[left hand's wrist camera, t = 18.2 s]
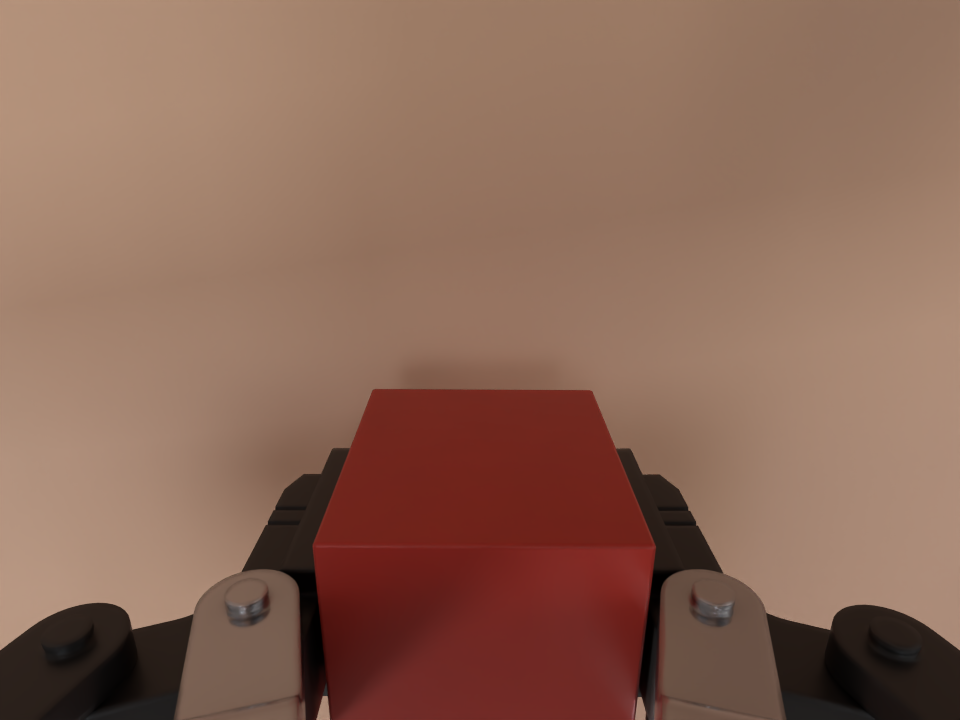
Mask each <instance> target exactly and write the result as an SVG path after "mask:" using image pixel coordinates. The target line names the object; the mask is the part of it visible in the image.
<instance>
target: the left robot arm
mask: <svg viewBox="0 0 960 720" xmlns="http://www.w3.org/2000/svg"><path fill="white" fill-rule="evenodd" d="M349 450H350V448H333V449H332V451H331V453H330V455H329V458H328V460H327V462H326V464H325V467H324V469H323V471H322V474H303V475H302V476H301V477H300V478H298V479H297V480H296V481H294V482H293V483H292V484H291V485H289V486H288V487H287V488H286V489H285V490H284V491H283V493H282V495H281V497H280V499H279V501H278V503H277V505H276V509H275V510H274V511H273V513H272V514H271V516H270V518H269V520H268V525H266V526H265V528H264V530H263V532H262V534H261V536H260V537H259V539H258V541H257V543H256V545H255V547H254V549H253V551H252V553H251V555H250V557H249V559H248V560H247V562H246V564H245V566H244V568H243V570H242V572H241V573H238V574H235V575H232V576H230V577H227V578H225V579H223V580H222V581H220V582H218V583H216V584H215V585H214V586H212V587H211V588H210V589H209V590H207V591H206V592H205V593H204V594H203V596H202V597H201V598H200V599H199V601H198V603H197V605H196V607H195V611H194V614H193V615H190V616H187V617H184V618H181V619H177V620H173V621H169V622H164V623H160V624H156V625H151V626H147V627H143V628H138V629H134V630H132V627H131V622H130V619H129V616H128V614H127V613H126V611H125V610H123V609H122V608H121V607H118V606H116V605H113V604H108V603H91V604H84V605H79V606H75V607H71V608H68V609H65V610H63V611H60V612H57V613H55V614H53V615H51V616H49V617H47V618H45V619H43V620H42V621H40V622H38V623H37V624H35V625H34V626H32V627H31V628H29V629H28V630H27V631H25V632H24V633H23V634H21V635H20V636H19V637H17V638H16V639H15V640H14V641H12V642H11V643H10V644H8V645H7V646H6V647H4V648H3V649H2V650H0V720H316V718H317V715H318V711H319V708H320V704H321V700H322V696H328V693H327V683H326V673H325V664H324V654H323V644H322V634H321V624H320V614H319V605H318V595H317V585H316V575H315V565H314V555H313V543H314V540H315V538H316V535H317V533H318V530H319V527H320V525H321V522H322V520H323V517H324V515H325V512H326V509H327V507H328V504H329V502H330V499H331V497H332V494H333V491H334V489H335V486H336V484H337V481H338V478H339V476H340V473H341V471H342V468H343V466H344V463H345V460H346V458H347V455H348V453H349ZM616 451H617V453H618V455H619V458H620V460H621V463H622V465H623V468H624V470H625V473H626V475H627V477H628V480H629V482H630V485H631V487H632V490H633V492H634V494H635V497H636V499H637V502H638V504H639V507H640V509H641V512H642V514H643V516H644V519H645V521H646V524H647V526H648V529H649V531H650V533H651V536H652V538H653V541H654V543H655V546H656V551H655V559H654V567H653V576H652V584H651V592H650V600H649V608H648V616H647V624H646V633H645V641H644V649H643V657H642V665H641V673H640V681H639V690H638V697H642V699H643V703H644V706H645V710H646V717H645V720H960V650H958V649H957V648H956V647H954V646H953V645H952V644H950V643H949V642H948V641H946V640H945V639H944V638H943V637H941V636H940V635H939V634H937V633H936V632H935V631H933V630H932V629H930V628H929V627H927V626H926V625H924V624H923V623H921V622H919V621H918V620H916V619H914V618H912V617H910V616H907V615H905V614H903V613H900V612H897V611H895V610H891V609H888V608H884V607H879V606H874V605H854V606H849V607H846V608H844V609H842V610H840V611H839V612H837V614H836V615H835V616H834V619H833V622H832V626H831V630H827V629H823V628H819V627H814V626H810V625H806V624H801V623H797V622H793V621H789V620H785V619H781V618H778V617H775V616H773V615H770V614H768V613H766V611H765V608H764V605H763V603H762V601H761V599H760V598H759V597H758V596H757V594H756V593H755V592H754V591H753V590H751V589H750V588H749V587H748V586H746V585H745V584H744V583H742V582H740V581H738V580H737V579H735V578H733V577H730V576H728V575H725V574H723V572H722V570H721V568H720V566H719V564H718V562H717V561H716V559H715V557H714V555H713V553H712V551H711V549H710V547H709V545H708V544H707V542H706V540H705V538H704V536H703V534H702V532H701V530H700V529H699V527H698V526H696V521H695V519H694V517H693V515H692V513H691V512H690V511H688V506H687V504H686V502H685V500H684V498H683V497H682V495H681V493H680V491H679V489H677V488H676V487H675V486H673V485H672V484H671V483H670V482H668V481H667V480H666V479H665V478H663V477H662V476H661V475H642V473H641V470H640V468H639V466H638V464H637V462H636V459H635V457H634V455H633V453H632V451H631V449H616Z"/></svg>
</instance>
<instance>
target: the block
mask: <svg viewBox="0 0 960 720" xmlns="http://www.w3.org/2000/svg"><path fill="white" fill-rule="evenodd" d="M655 551H656V546H655V543H654V541H653V538H652V536H651V533H650V531H649V529H648V526H647V524H646V521H645V519H644V516H643V514H642V512H641V509H640V507H639V504H638V502H637V499H636V497H635V494H634V492H633V490H632V487H631V485H630V482H629V480H628V477H627V475H626V473H625V470H624V468H623V465H622V463H621V460H620V458H619V455H618V453H617V451H616V448H615V446H614V443H613V441H612V438H611V436H610V434H609V431H608V429H607V426H606V424H605V421H604V419H603V417H602V414H601V412H600V409H599V407H598V404H597V402H596V399H595V397H594V395H593V392H592V391H590V390H437V389H374V390H373V391H372V393H371V396H370V399H369V401H368V404H367V406H366V409H365V411H364V414H363V417H362V419H361V422H360V424H359V427H358V429H357V432H356V435H355V437H354V440H353V442H352V445H351V448H350V450H349V453H348V455H347V458H346V460H345V463H344V466H343V468H342V471H341V473H340V476H339V478H338V481H337V484H336V486H335V489H334V491H333V494H332V497H331V499H330V502H329V504H328V507H327V509H326V512H325V515H324V517H323V520H322V522H321V525H320V527H319V530H318V533H317V535H316V538H315V540H314V543H313V555H314V565H315V575H316V585H317V595H318V605H319V614H320V624H321V634H322V644H323V654H324V664H325V673H326V683H327V693H328V703H329V713H330V720H635V714H636V706H637V698H638V690H639V681H640V673H641V665H642V657H643V649H644V641H645V633H646V624H647V616H648V608H649V600H650V592H651V584H652V576H653V567H654V559H655Z"/></svg>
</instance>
